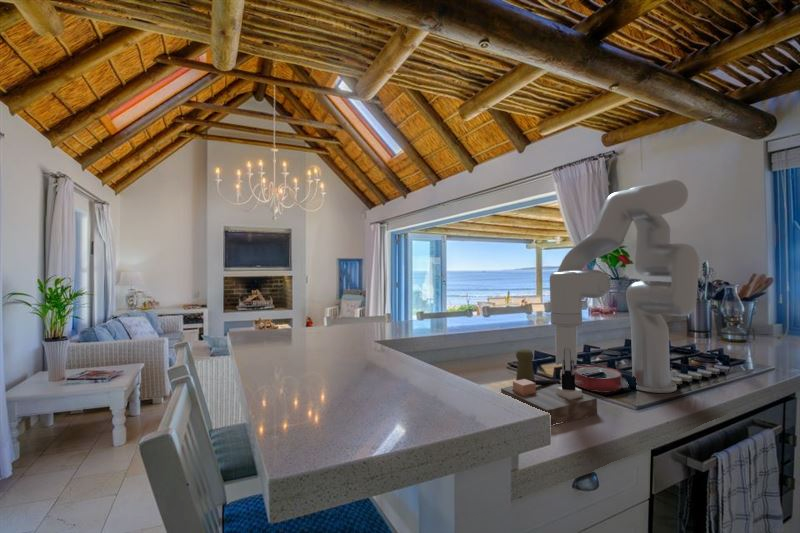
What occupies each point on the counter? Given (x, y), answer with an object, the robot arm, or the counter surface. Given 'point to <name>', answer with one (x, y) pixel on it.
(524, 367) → the olive brown rounded cylinder
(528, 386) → the terracotta key
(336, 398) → the counter surface
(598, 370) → the frying pan
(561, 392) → the cream key
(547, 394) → the brown wooden flat board
